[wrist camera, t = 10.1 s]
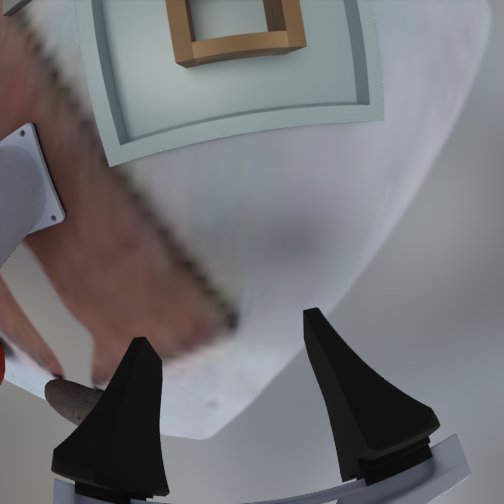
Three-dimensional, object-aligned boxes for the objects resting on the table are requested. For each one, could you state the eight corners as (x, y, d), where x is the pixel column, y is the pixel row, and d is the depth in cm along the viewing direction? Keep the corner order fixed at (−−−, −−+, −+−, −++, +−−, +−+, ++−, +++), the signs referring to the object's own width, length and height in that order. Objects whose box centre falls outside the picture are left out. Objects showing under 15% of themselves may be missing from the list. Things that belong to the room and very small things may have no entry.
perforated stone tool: (48, 376, 30) (38, 414, 24) (50, 363, 28) (38, 405, 22) (133, 410, 36) (130, 447, 31) (143, 401, 34) (140, 442, 29)
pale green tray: (122, 155, 15) (109, 167, 13) (89, -24, 7) (73, -34, 5) (365, 114, 16) (384, 121, 14) (335, -59, 7) (350, -72, 5)
